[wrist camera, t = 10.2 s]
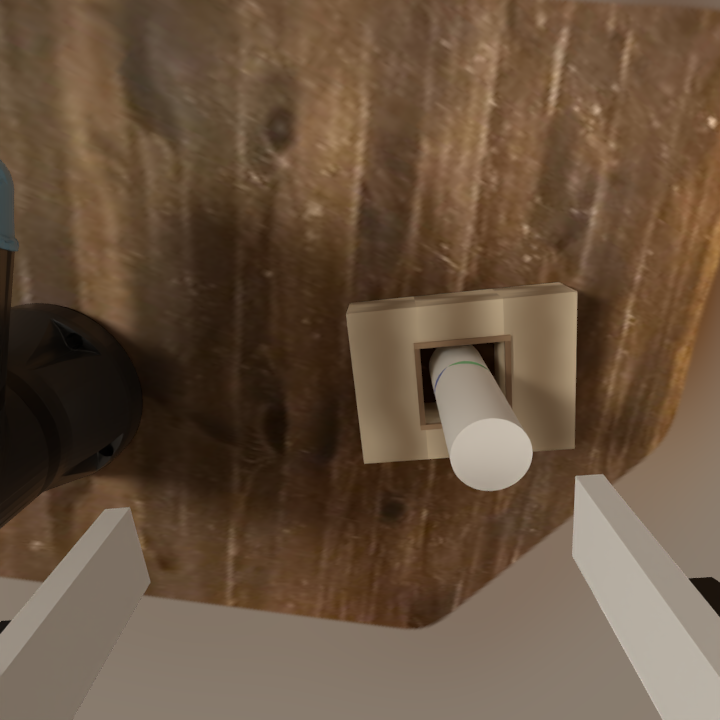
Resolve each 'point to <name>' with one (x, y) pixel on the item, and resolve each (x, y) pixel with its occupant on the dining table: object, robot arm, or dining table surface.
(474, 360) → the tube
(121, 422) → the robot arm
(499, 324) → the socket board
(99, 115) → the dining table surface
